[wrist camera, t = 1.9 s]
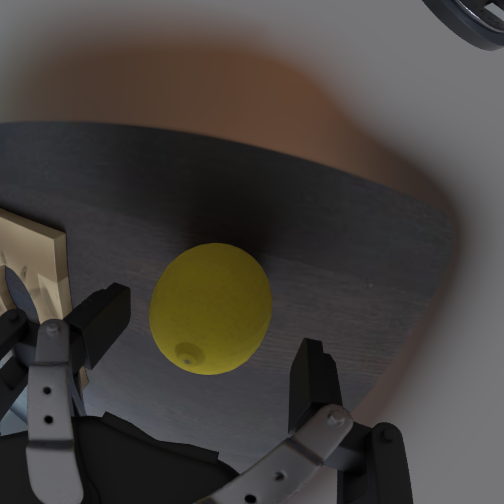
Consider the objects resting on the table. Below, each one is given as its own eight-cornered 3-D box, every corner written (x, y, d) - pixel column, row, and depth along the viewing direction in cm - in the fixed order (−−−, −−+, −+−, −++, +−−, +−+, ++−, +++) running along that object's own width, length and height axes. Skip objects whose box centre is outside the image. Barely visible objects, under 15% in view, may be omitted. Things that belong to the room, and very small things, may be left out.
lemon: (184, 299, 17) (129, 385, 10) (189, 217, 15) (111, 277, 8) (266, 316, 17) (252, 418, 10) (284, 234, 15) (281, 316, 8)
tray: (-18, 200, 17) (-27, 204, 16) (65, 233, 17) (53, 239, 16) (7, 328, 24) (0, 333, 23) (88, 383, 24) (82, 391, 22)
